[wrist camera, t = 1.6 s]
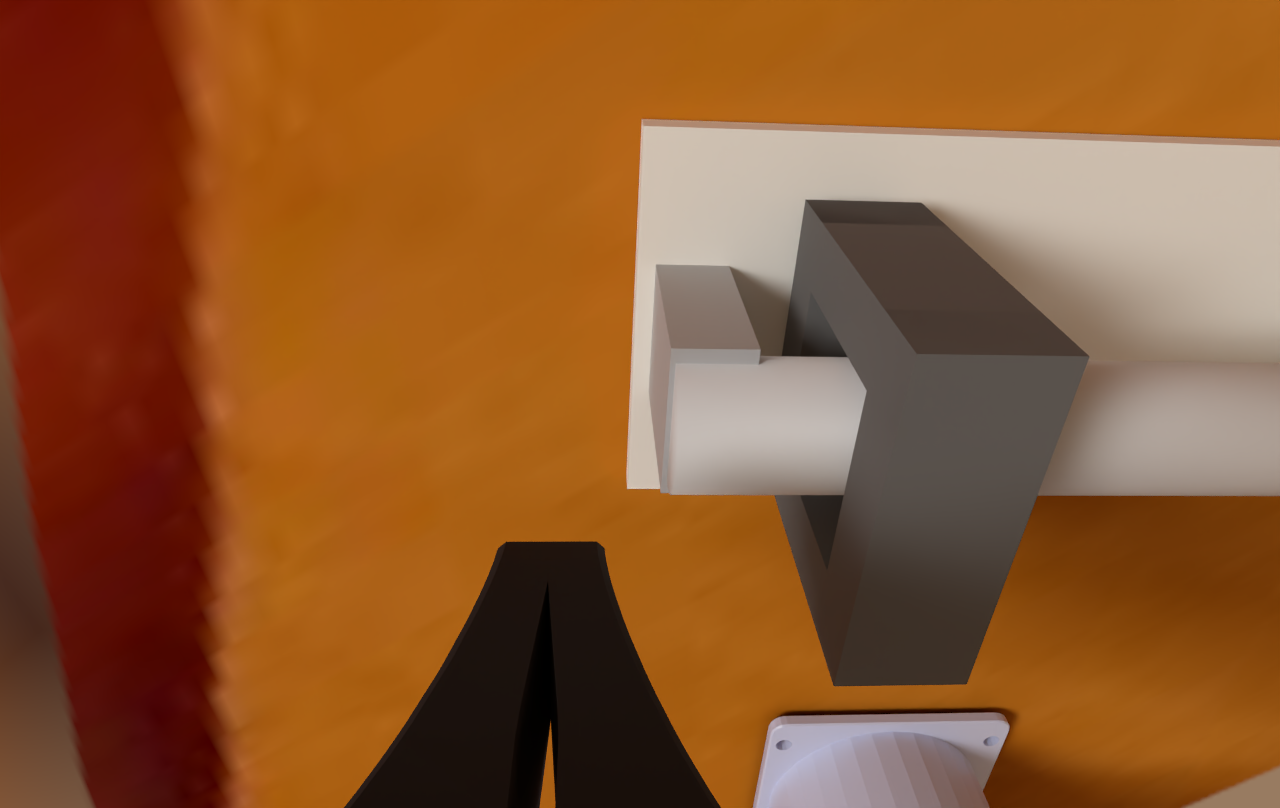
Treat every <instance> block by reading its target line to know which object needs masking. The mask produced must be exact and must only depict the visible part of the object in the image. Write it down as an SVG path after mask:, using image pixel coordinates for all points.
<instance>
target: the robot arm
mask: <svg viewBox="0 0 1280 808" xmlns="http://www.w3.org/2000/svg"><path fill="white" fill-rule="evenodd" d="M550 721H551V730H552V748H553V765H554V783H555V801H556V807H555V808H721V807H720V806H719V804H718V803H717V801H716V800H715V798H714V796H713V795H712V793H711V792H710V790H709V789H708V787H707V785H706V784H705V782H704V780H703V779H702V777H701V775H700V774H699V772H698V770H697V769H696V767H695V765H694V764H693V762H692V760H691V759H690V757H689V755H688V753H687V752H686V750H685V748H684V746H683V745H682V743H681V741H680V739H679V737H678V736H677V734H676V732H675V730H674V728H673V726H672V725H671V723H670V721H669V719H668V717H667V715H666V713H665V711H664V709H663V707H662V705H661V703H660V701H659V699H658V697H657V695H656V693H655V691H654V689H653V687H652V685H651V683H650V681H649V679H648V676H647V674H646V672H645V670H644V668H643V665H642V663H641V661H640V658H639V656H638V654H637V651H636V649H635V647H634V644H633V642H632V640H631V637H630V635H629V633H628V630H627V627H626V625H625V622H624V620H623V617H622V614H621V611H620V608H619V605H618V602H617V600H616V597H615V593H614V590H613V587H612V583H611V580H610V576H609V572H608V567H607V563H606V557H605V549H604V548H603V547H602V546H601V545H600V544H599V543H598V542H506V543H504V544H503V545H502V546H501V547H499V548H498V550H497V553H496V556H495V560H494V562H493V565H492V567H491V570H490V572H489V575H488V577H487V580H486V582H485V584H484V587H483V589H482V591H481V593H480V595H479V597H478V599H477V601H476V603H475V605H474V607H473V609H472V612H471V614H470V616H469V618H468V620H467V621H466V623H465V625H464V627H463V629H462V631H461V632H460V634H459V636H458V638H457V640H456V641H455V643H454V645H453V647H452V649H451V651H450V652H449V654H448V656H447V658H446V660H445V661H444V663H443V665H442V667H441V668H440V670H439V672H438V673H437V675H436V677H435V678H434V680H433V681H432V683H431V684H430V686H429V688H428V689H427V691H426V692H425V694H424V695H423V697H422V699H421V700H420V702H419V703H418V705H417V707H416V708H415V710H414V711H413V713H412V714H411V716H410V718H409V719H408V721H407V722H406V724H405V725H404V727H403V728H402V730H401V731H400V733H399V734H398V735H397V737H396V738H395V740H394V741H393V743H392V744H391V746H390V747H389V748H388V750H387V751H386V753H385V754H384V755H383V757H382V758H381V760H380V761H379V762H378V764H377V765H376V767H375V768H374V769H373V771H372V772H371V773H370V775H369V776H368V777H367V779H366V780H365V781H364V783H363V784H362V785H361V787H360V788H359V789H358V791H357V792H356V793H355V794H354V796H353V797H352V798H351V800H350V801H349V802H348V803H347V805H346V806H345V807H344V808H539V806H540V798H541V791H542V783H543V776H544V768H545V760H546V752H547V745H548V737H549V729H550ZM1009 729H1010V726H1009V724H1008V722H1007V720H1006V718H1005V716H1004V715H1003V714H1001V713H995V712H985V713H925V714H865V715H805V716H781V717H778V718H776V719H774V720H773V721H772V722H771V723H770V725H769V728H768V733H767V738H766V743H765V748H764V753H763V758H762V764H761V769H760V774H759V779H758V784H757V789H756V794H755V799H754V805H753V808H990V807H989V805H988V802H987V800H986V798H985V795H984V793H983V789H984V787H985V785H986V782H987V780H988V778H989V776H990V773H991V771H992V769H993V766H994V764H995V762H996V759H997V757H998V755H999V753H1000V750H1001V748H1002V746H1003V743H1004V741H1005V739H1006V737H1007V734H1008V732H1009Z"/></svg>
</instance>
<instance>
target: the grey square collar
mask: <svg viewBox="0 0 1280 808" xmlns="http://www.w3.org/2000/svg"><path fill="white" fill-rule="evenodd" d="M782 356H795V357H848V358H849V360H850V362H851V364H852V366H853V367H854V369H855V371H856V373H857V374H858V376H859V378H860V380H861V382H862V383H863V385H864V387H865V389H866V390H867V391H866V396H865V401H864V405H863V410H862V414H861V419H860V423H859V428H858V433H857V437H856V442H855V446H854V451H853V455H852V460H851V464H850V469H849V474H848V478H847V483H846V487H845V492H844V495H775V499H776V502H777V505H778V508H779V511H780V515H781V518H782V521H783V524H784V528H785V531H786V534H787V537H788V540H789V544H790V547H791V550H792V553H793V556H794V560H795V563H796V566H797V569H798V573H799V576H800V579H801V582H802V585H803V589H804V592H805V595H806V598H807V602H808V605H809V608H810V611H811V614H812V618H813V621H814V624H815V627H816V630H817V634H818V637H819V640H820V643H821V647H822V650H823V653H824V656H825V659H826V663H827V666H828V669H829V672H830V676H831V679H832V682H833V685H834V686H881V685H952V684H967V682H968V679H969V676H970V674H971V671H972V668H973V666H974V663H975V660H976V658H977V655H978V652H979V650H980V647H981V644H982V642H983V639H984V636H985V634H986V631H987V628H988V626H989V623H990V620H991V618H992V615H993V613H994V610H995V607H996V605H997V602H998V599H999V597H1000V594H1001V591H1002V589H1003V586H1004V583H1005V581H1006V578H1007V575H1008V573H1009V570H1010V567H1011V565H1012V562H1013V559H1014V557H1015V554H1016V551H1017V549H1018V546H1019V543H1020V541H1021V538H1022V535H1023V533H1024V530H1025V527H1026V525H1027V522H1028V519H1029V517H1030V514H1031V511H1032V509H1033V506H1034V503H1035V501H1036V498H1037V495H1038V493H1039V490H1040V487H1041V485H1042V482H1043V479H1044V477H1045V474H1046V471H1047V469H1048V466H1049V463H1050V461H1051V458H1052V455H1053V453H1054V450H1055V447H1056V445H1057V442H1058V439H1059V437H1060V434H1061V431H1062V429H1063V426H1064V424H1065V421H1066V418H1067V416H1068V413H1069V410H1070V408H1071V405H1072V402H1073V400H1074V397H1075V394H1076V392H1077V389H1078V386H1079V384H1080V381H1081V378H1082V376H1083V373H1084V370H1085V368H1086V365H1087V362H1088V360H1089V357H1090V356H1089V355H1088V354H1086V353H1085V352H1084V351H1083V350H1082V349H1081V348H1080V347H1079V346H1078V345H1077V344H1076V343H1074V342H1073V341H1072V340H1071V339H1070V338H1069V337H1068V336H1067V335H1066V334H1065V333H1063V332H1062V331H1061V330H1060V329H1059V328H1058V327H1057V326H1056V325H1055V324H1054V323H1053V322H1051V321H1050V320H1049V319H1048V318H1047V317H1046V316H1045V315H1044V314H1043V313H1042V312H1041V311H1039V310H1038V309H1037V308H1036V307H1035V306H1034V305H1033V304H1032V303H1031V302H1030V301H1028V300H1027V299H1026V298H1025V297H1024V296H1023V295H1022V294H1021V293H1020V292H1019V291H1018V290H1016V289H1015V288H1014V287H1013V286H1012V285H1011V284H1010V283H1009V282H1008V281H1007V280H1006V279H1004V278H1003V277H1002V276H1001V275H1000V274H999V273H998V272H997V271H996V270H995V269H993V268H992V267H991V266H990V265H989V264H988V263H987V262H986V261H985V260H984V259H983V258H981V257H980V256H979V255H978V254H977V253H976V252H975V251H974V250H973V249H972V248H970V247H969V246H968V245H967V244H966V243H965V242H964V241H963V240H962V239H961V238H960V237H958V236H957V235H956V234H955V233H954V232H953V231H952V230H951V229H950V228H949V227H948V226H946V225H945V224H944V223H943V222H942V221H941V220H940V219H939V218H938V217H937V216H935V215H934V214H933V213H932V212H931V211H930V210H929V209H928V208H927V207H926V206H925V205H923V204H922V203H919V202H882V201H845V200H807V199H805V206H804V212H803V219H802V226H801V232H800V239H799V245H798V252H797V258H796V265H795V272H794V278H793V285H792V291H791V298H790V304H789V311H788V318H787V324H786V331H785V337H784V344H783V350H782Z"/></svg>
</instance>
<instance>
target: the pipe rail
mask: <svg viewBox="0 0 1280 808" xmlns="http://www.w3.org/2000/svg"><path fill="white" fill-rule="evenodd" d="M805 199H807V200H845V201H882V202H919V203H922V204H923V205H925V206H926V207H927V208H928V209H929V210H930V211H931V212H932V213H933V214H934V215H935V216H937V217H938V218H939V219H940V220H941V221H942V222H943V223H944V224H945V225H946V226H948V227H949V228H950V229H951V230H952V231H953V232H954V233H955V234H956V235H957V236H958V237H960V238H961V239H962V240H963V241H964V242H965V243H966V244H967V245H968V246H969V247H970V248H972V249H973V250H974V251H975V252H976V253H977V254H978V255H979V256H980V257H981V258H983V259H984V260H985V261H986V262H987V263H988V264H989V265H990V266H991V267H992V268H993V269H995V270H996V271H997V272H998V273H999V274H1000V275H1001V276H1002V277H1003V278H1004V279H1006V280H1007V281H1008V282H1009V283H1010V284H1011V285H1012V286H1013V287H1014V288H1015V289H1016V290H1018V291H1019V292H1020V293H1021V294H1022V295H1023V296H1024V297H1025V298H1026V299H1027V300H1028V301H1030V302H1031V303H1032V304H1033V305H1034V306H1035V307H1036V308H1037V309H1038V310H1039V311H1041V312H1042V313H1043V314H1044V315H1045V316H1046V317H1047V318H1048V319H1049V320H1050V321H1051V322H1053V323H1054V324H1055V325H1056V326H1057V327H1058V328H1059V329H1060V330H1061V331H1062V332H1063V333H1065V334H1066V335H1067V336H1068V337H1069V338H1070V339H1071V340H1072V341H1073V342H1074V343H1076V344H1077V345H1078V346H1079V347H1080V348H1081V349H1082V350H1083V351H1084V352H1085V353H1086V354H1088V355H1089V356H1090V357H1089V360H1088V362H1087V365H1086V368H1085V370H1084V373H1083V376H1082V378H1081V381H1080V384H1079V386H1078V389H1077V392H1076V394H1075V397H1074V400H1073V402H1072V405H1071V408H1070V410H1069V413H1068V416H1067V418H1066V421H1065V424H1064V426H1063V429H1062V431H1061V434H1060V437H1059V439H1058V442H1057V445H1056V447H1055V450H1054V453H1053V455H1052V458H1051V461H1050V463H1049V466H1048V469H1047V471H1046V474H1045V477H1044V479H1043V482H1042V485H1041V487H1040V490H1039V493H1038V495H1037V496H1280V140H1260V139H1229V138H1199V137H1169V136H1139V135H1109V134H1079V133H1048V132H1018V131H988V130H958V129H928V128H898V127H867V126H837V125H807V124H777V123H747V122H717V121H686V120H656V119H642V127H641V150H640V173H639V196H638V219H637V242H636V265H635V288H634V311H633V334H632V357H631V381H630V404H629V427H628V450H627V473H626V476H627V489H660V491H661V493H670V494H671V495H844V492H845V487H846V483H847V478H848V474H849V469H850V464H851V460H852V455H853V451H854V446H855V442H856V437H857V433H858V428H859V423H860V419H861V414H862V410H863V405H864V401H865V396H866V391H867V390H866V389H865V387H864V385H863V383H862V382H861V380H860V378H859V376H858V374H857V373H856V371H855V369H854V367H853V366H852V364H851V362H850V360H849V358H848V357H795V356H782V350H783V344H784V337H785V331H786V324H787V318H788V311H789V304H790V298H791V291H792V285H793V278H794V272H795V265H796V258H797V252H798V245H799V239H800V232H801V226H802V219H803V212H804V206H805Z"/></svg>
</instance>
